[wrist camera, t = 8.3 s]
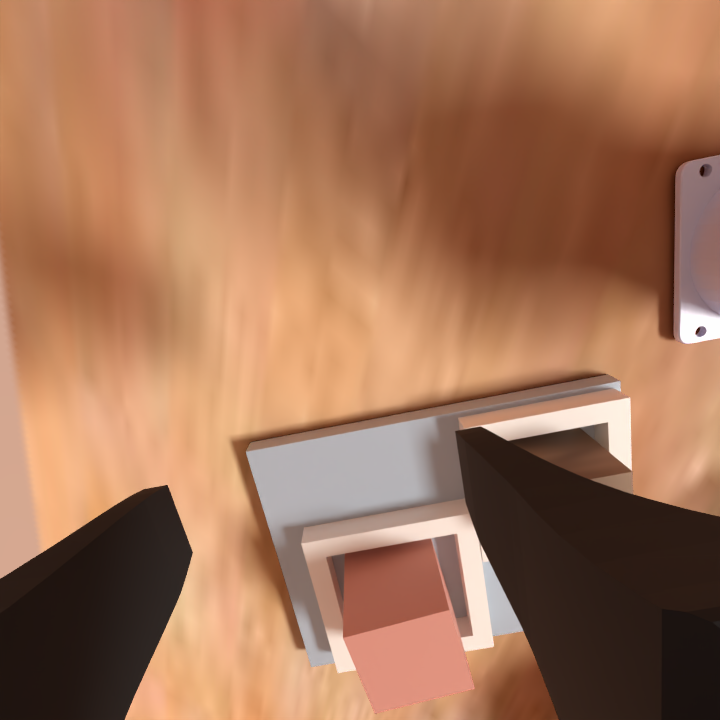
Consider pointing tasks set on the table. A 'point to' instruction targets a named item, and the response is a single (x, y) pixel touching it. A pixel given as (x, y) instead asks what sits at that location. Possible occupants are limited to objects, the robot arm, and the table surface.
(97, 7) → the table surface
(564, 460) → the walnut cube
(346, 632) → the brick-red block
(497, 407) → the board
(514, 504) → the robot arm
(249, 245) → the table surface
